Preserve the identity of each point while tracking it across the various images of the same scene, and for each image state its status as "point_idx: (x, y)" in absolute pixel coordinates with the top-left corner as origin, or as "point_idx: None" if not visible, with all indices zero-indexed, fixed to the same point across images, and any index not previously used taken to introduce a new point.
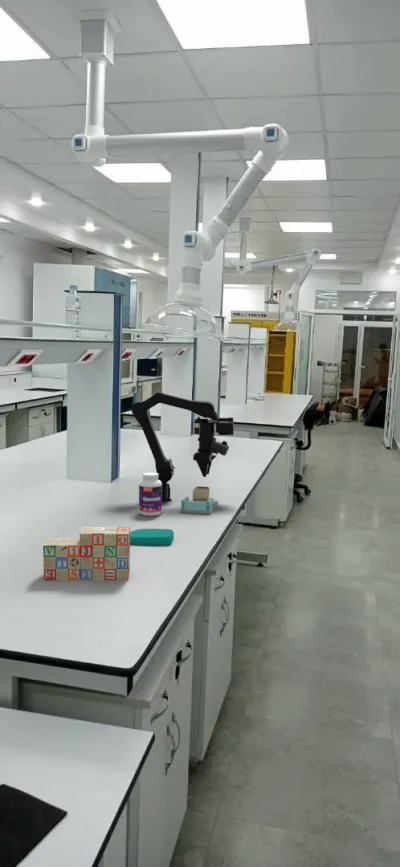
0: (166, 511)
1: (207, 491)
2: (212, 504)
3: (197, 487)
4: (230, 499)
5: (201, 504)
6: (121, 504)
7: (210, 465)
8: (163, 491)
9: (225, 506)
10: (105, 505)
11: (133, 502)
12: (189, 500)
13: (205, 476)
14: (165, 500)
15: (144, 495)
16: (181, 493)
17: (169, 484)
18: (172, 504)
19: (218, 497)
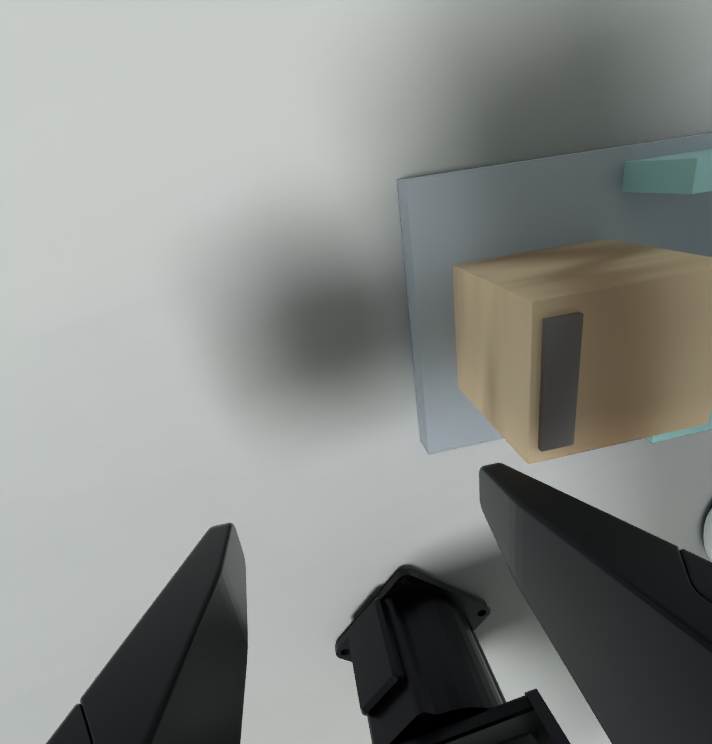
0: (691, 461)
1: (639, 272)
2: (653, 159)
3: (573, 433)
4: (86, 113)
5: None
6: (568, 704)
7: (161, 699)
8: (477, 660)
9: (448, 66)
10: (601, 735)
11: (513, 690)
12: (457, 442)
13: (503, 471)
14: (447, 588)
15: None
16: (134, 619)
17: (421, 708)
18: None
19: (77, 289)
